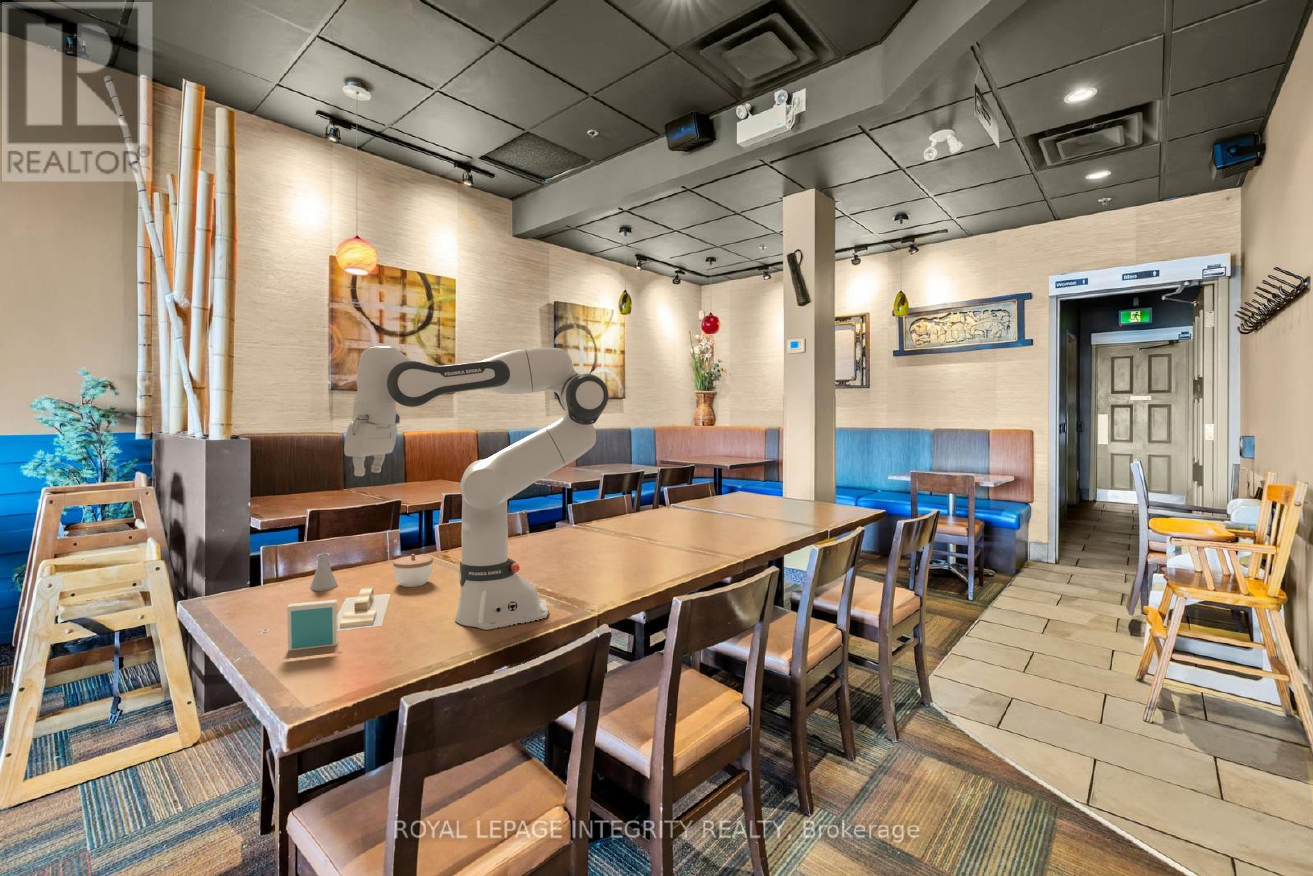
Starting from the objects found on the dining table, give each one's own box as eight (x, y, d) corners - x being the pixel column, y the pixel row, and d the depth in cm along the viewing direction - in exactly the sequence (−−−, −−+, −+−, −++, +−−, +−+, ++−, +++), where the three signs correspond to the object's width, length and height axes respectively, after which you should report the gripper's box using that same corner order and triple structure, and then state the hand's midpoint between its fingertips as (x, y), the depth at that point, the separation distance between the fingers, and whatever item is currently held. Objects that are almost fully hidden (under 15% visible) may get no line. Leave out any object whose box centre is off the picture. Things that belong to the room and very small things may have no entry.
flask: (343, 588, 167) (342, 553, 166) (317, 594, 161) (317, 559, 160) (329, 584, 171) (329, 550, 170) (304, 590, 165) (303, 555, 164)
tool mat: (390, 595, 160) (390, 593, 160) (381, 628, 136) (381, 626, 136) (346, 599, 156) (346, 597, 156) (328, 634, 132) (328, 631, 132)
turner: (353, 599, 155) (353, 588, 155) (382, 596, 157) (381, 585, 157) (339, 627, 134) (339, 615, 134) (373, 624, 137) (372, 611, 137)
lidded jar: (429, 578, 177) (429, 548, 176) (436, 587, 168) (436, 555, 167) (391, 584, 171) (390, 552, 171) (396, 593, 162) (395, 560, 162)
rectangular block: (338, 644, 126) (337, 599, 126) (336, 648, 124) (335, 602, 124) (290, 650, 123) (289, 603, 123) (288, 654, 121) (287, 607, 121)
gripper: (370, 416, 124) (363, 479, 125) (403, 417, 145) (397, 471, 145) (339, 412, 124) (332, 476, 124) (377, 414, 144) (371, 469, 144)
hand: (367, 474), depth 135 cm, fingers open, 8 cm apart
